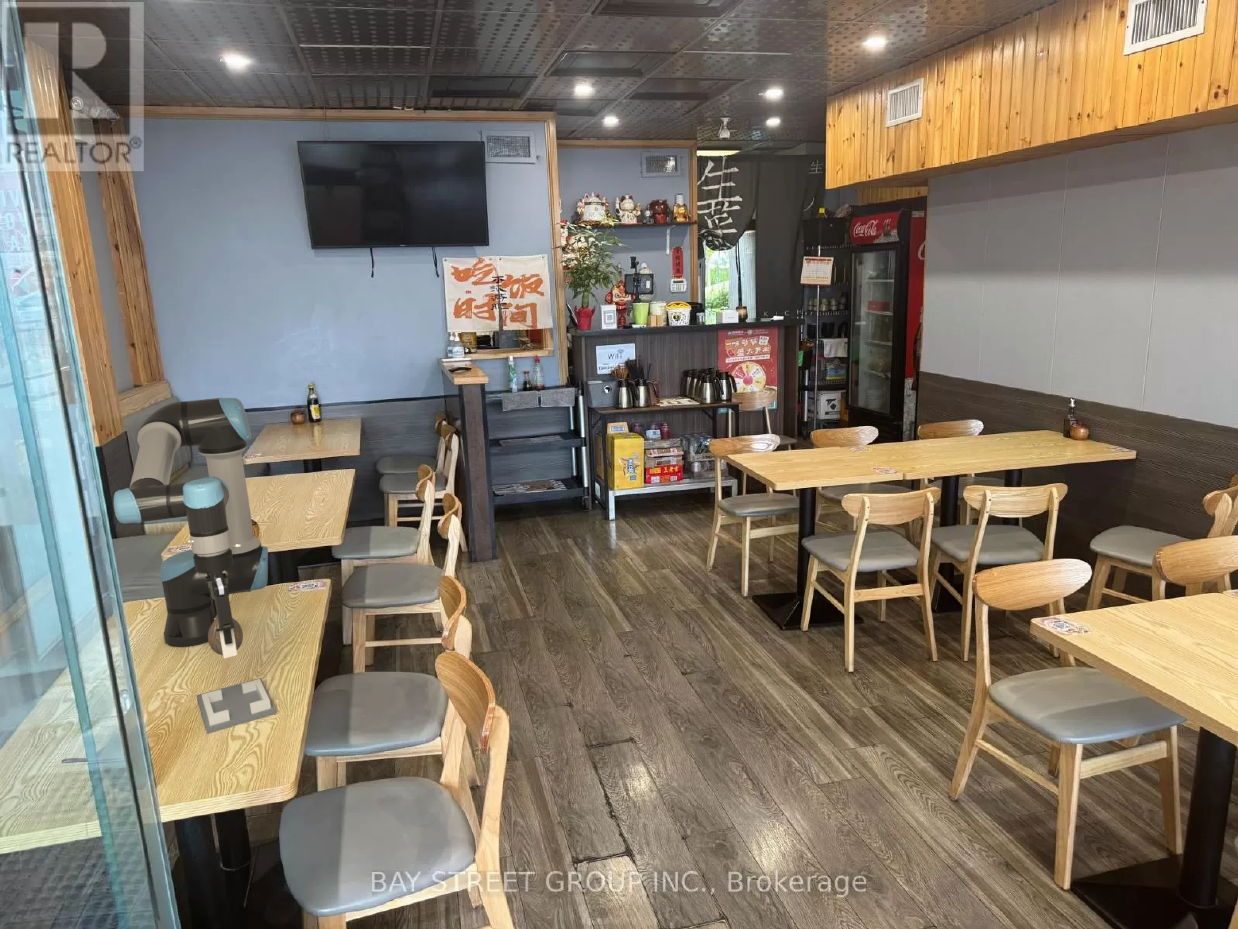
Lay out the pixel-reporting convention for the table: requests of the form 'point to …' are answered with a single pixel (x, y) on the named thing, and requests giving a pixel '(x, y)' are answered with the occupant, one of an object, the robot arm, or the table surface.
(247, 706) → the board
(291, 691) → the table surface
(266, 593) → the table surface
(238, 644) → the vase
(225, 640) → the robot arm
